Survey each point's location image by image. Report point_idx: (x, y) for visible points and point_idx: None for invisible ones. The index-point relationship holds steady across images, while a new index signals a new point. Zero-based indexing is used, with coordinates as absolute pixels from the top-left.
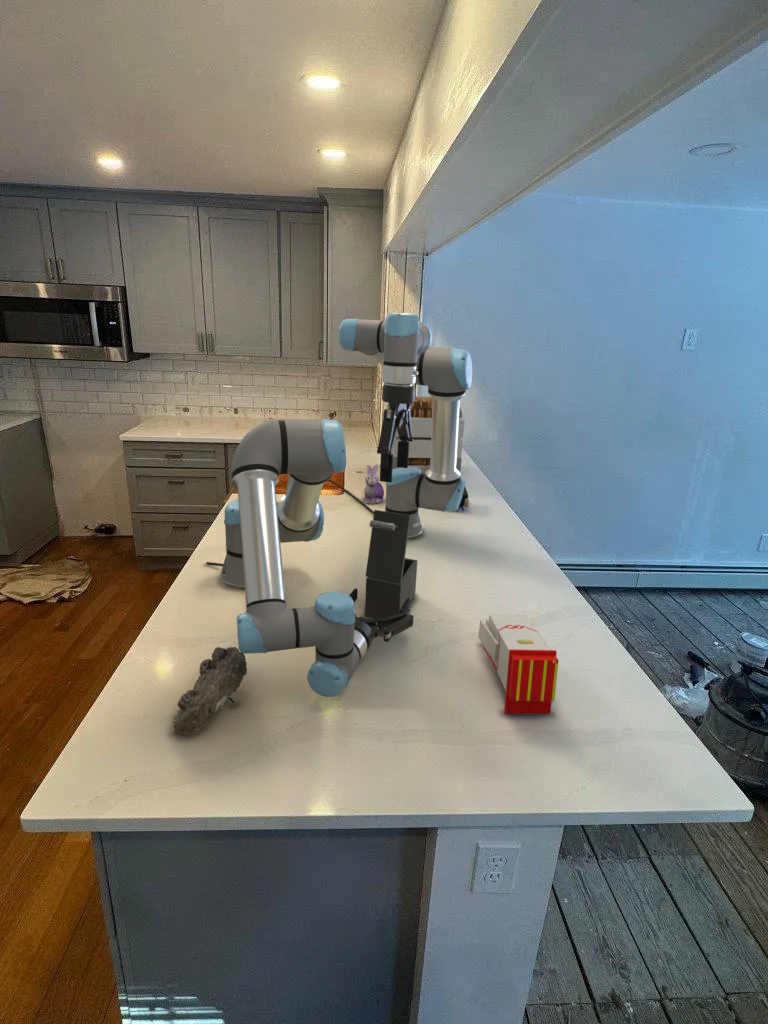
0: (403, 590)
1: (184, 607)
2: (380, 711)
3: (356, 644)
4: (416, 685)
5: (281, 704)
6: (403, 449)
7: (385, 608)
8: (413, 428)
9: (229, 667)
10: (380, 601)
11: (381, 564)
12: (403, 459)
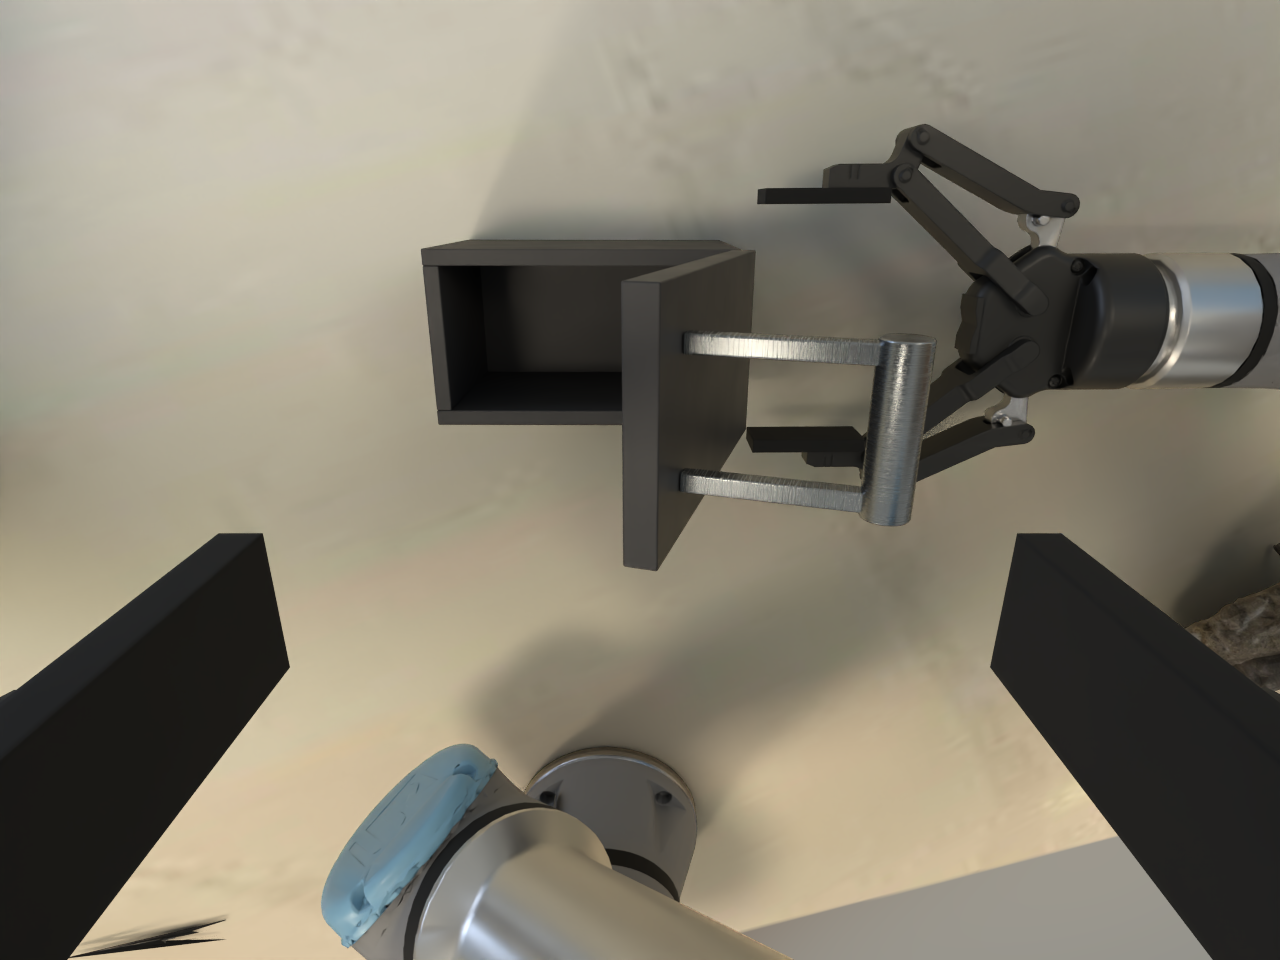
0: (680, 246)
1: (845, 868)
2: (1269, 133)
3: (1253, 279)
4: (1114, 47)
5: (1258, 433)
6: (83, 798)
7: None
8: None
9: None
10: None
11: (737, 375)
12: (205, 659)
